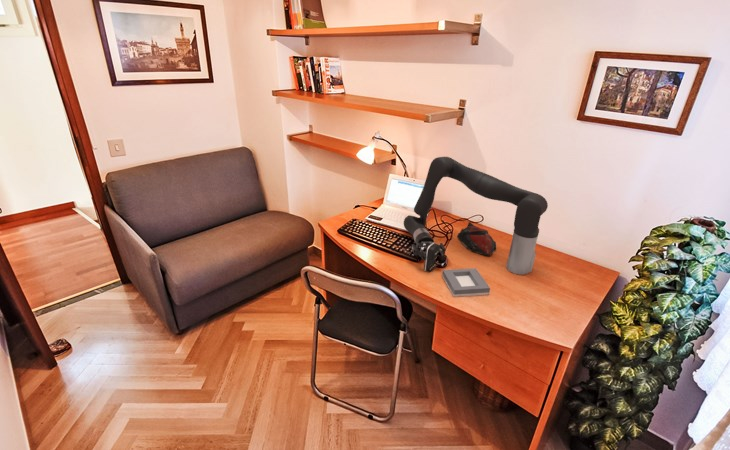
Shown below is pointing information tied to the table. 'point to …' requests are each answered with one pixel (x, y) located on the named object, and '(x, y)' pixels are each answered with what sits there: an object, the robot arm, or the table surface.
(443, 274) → the tray
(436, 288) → the table surface
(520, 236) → the robot arm
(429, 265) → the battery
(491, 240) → the drone shell
